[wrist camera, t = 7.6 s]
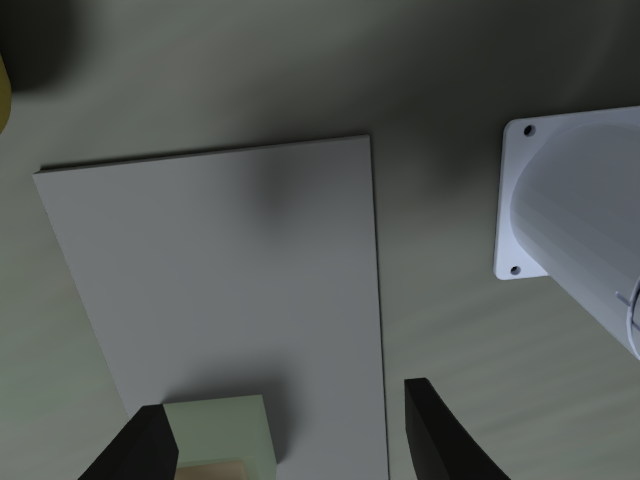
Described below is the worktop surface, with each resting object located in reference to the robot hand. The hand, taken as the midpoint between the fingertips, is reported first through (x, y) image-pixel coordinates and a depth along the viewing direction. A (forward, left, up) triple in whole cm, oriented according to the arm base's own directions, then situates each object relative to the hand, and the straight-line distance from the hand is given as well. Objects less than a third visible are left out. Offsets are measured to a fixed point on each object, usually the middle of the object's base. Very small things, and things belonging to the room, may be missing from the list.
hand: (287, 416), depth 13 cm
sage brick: (+6, +11, -9) cm, 16 cm away
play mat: (+3, +6, -10) cm, 12 cm away
